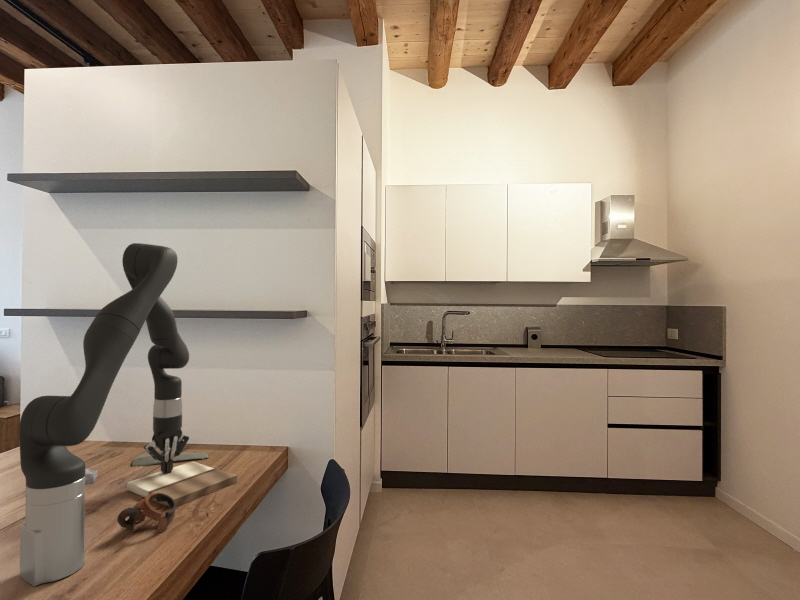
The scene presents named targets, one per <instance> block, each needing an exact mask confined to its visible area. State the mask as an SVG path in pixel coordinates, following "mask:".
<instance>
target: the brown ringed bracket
mask: <svg viewBox="0 0 800 600" xmlns="http://www.w3.org/2000/svg"><path fill="white" fill-rule="evenodd" d="M153 498H156V499H157V502H161V501H162V502H165V501H166V502H167V503H168V505H169V507H168V508H169V509H170V510H169V511H168V510H167V511H166V512H165V514H164V516H162V511H160V510H157V509H156V508H154V507H153V506H152V505H151V504H150V501H152V500H151V499H153ZM157 502H156V503H157ZM176 506H177V505H176V502H175V501H174V499H173V498H171V497H170V496H168V495H166V494H163V493H152V494H149V495H148V496H147V497H146V498H145V497H144V498H142V499H141V500H139V501H138V502H137V503H136V504H135V505H134V506H133V507H128V508H125V509H123V510H121V511H120V513H119V514H118V516H117V520H116V522H117V523H118V525H119V526H120V527H121V528H125V529H126V531H129V532H133V531H134V530H135V527H136V523H137V522H141V521H145V520H146V518H149V519H151V520H153V521H155V522H158V524H157V527H156V529H155V532H156V533H163V532H164V531H165V530H166V527H168V526H169V525H170V524H171V523H172V522H173V521H174V519H175V516H176V510H177V507H178V506H177V507H176ZM127 518H128V519H127Z"/></svg>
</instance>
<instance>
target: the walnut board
mask: <svg viewBox="0 0 800 600" xmlns="http://www.w3.org/2000/svg"><path fill="white" fill-rule="evenodd" d="M213 468H214V467H213ZM236 483H238V475H237V474H234V473H231V472H228V471H224V470H221V469H217V468H214V469H211V470H208V471H206V472H203V473H200V474H197V475H194V476H191V477H188V478H186V479H183V480H180V481H177V482H174V483H171V484H169V485H166V486H163V487H160V488H157V489H154V490H151V491H149V494H152V493H163V494H166V495H168V496H170V497H171V498H173V499H174V501H175V502H176V505H177V506H176V508H177V507H179V506H181V505H183V504H187V503H189V502H191V501H194V500H196V499H199V498H202V497H204V496H206V494H207V495H208V494H211V492H212V493H214V492H216V491H219V490H222V489H224V488H226V487H229V486H232V485H234V484H236ZM201 496H202V497H201ZM150 501H152V502H155V503H158V504H160V505H163V506H166V507H168V508H169V505H168V503H167V502H166V501H165V502H162V501H161V502H157V499H156V498H153V499H151V500H150Z"/></svg>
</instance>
